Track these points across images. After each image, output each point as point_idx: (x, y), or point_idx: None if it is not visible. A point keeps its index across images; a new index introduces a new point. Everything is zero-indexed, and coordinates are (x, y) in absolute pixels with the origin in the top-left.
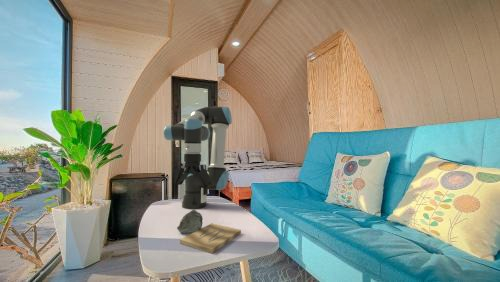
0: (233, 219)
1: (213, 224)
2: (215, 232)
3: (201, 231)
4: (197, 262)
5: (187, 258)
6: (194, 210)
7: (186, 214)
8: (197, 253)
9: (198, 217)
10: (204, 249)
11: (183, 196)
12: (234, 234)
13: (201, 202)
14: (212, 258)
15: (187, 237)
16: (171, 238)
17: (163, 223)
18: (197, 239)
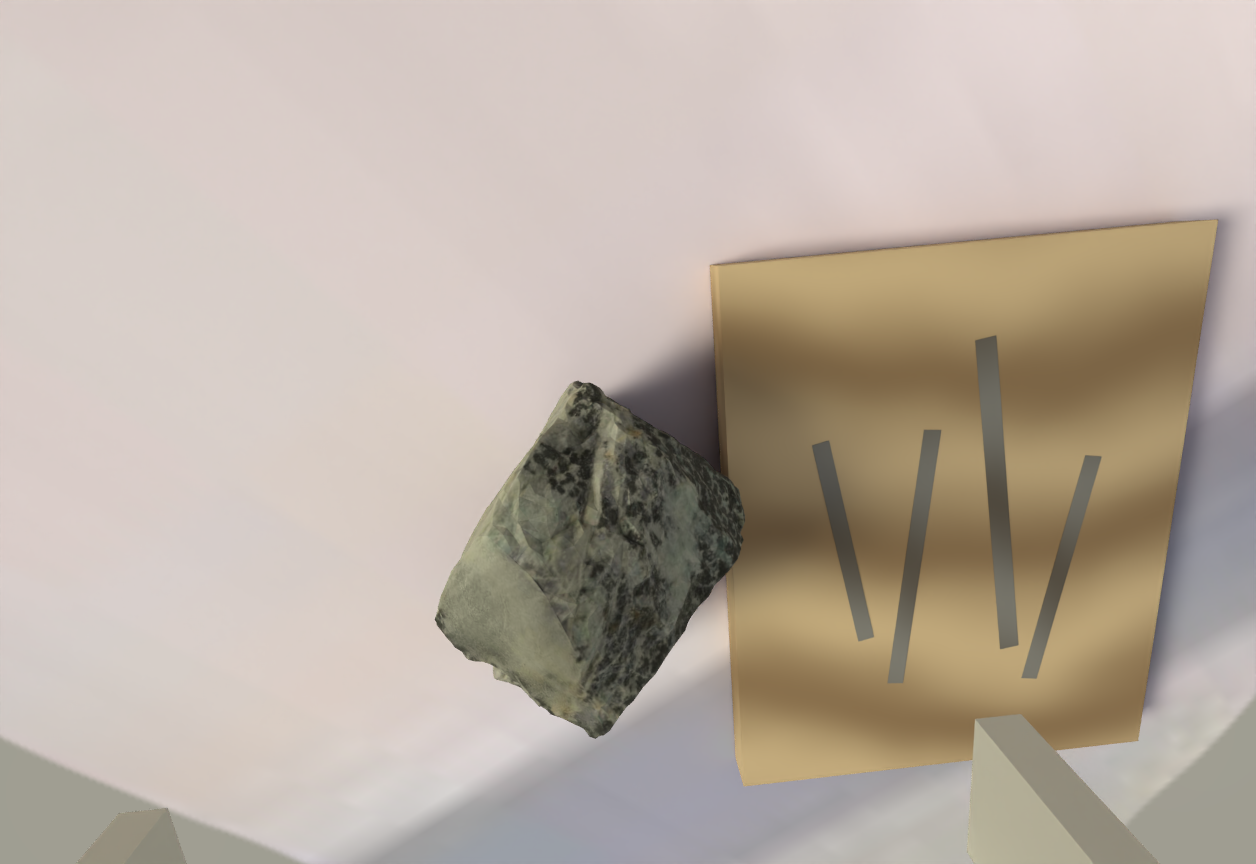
0: None
1: (772, 290)
2: (958, 472)
3: (792, 546)
4: None
5: None
6: (579, 582)
7: (568, 717)
8: None
9: (720, 575)
10: None
11: (142, 854)
12: (1190, 379)
13: (990, 860)
14: (1148, 758)
15: (774, 724)
16: (580, 743)
17: (93, 568)
18: (895, 697)
